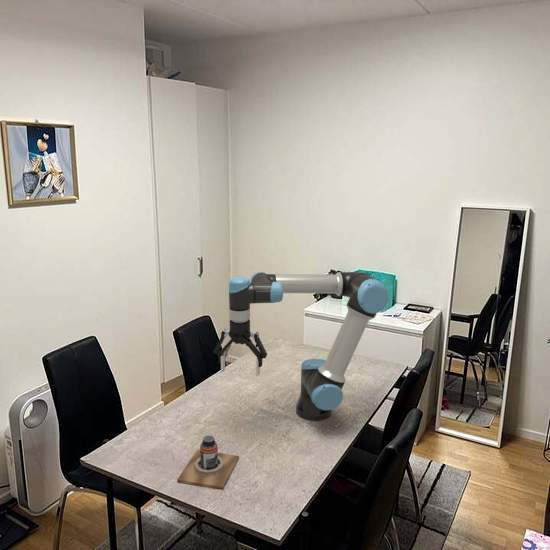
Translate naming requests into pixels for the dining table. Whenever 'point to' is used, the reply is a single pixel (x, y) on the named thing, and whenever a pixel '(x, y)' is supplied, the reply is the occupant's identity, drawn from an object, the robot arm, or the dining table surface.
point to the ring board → (212, 479)
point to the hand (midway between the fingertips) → (240, 372)
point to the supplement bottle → (209, 453)
